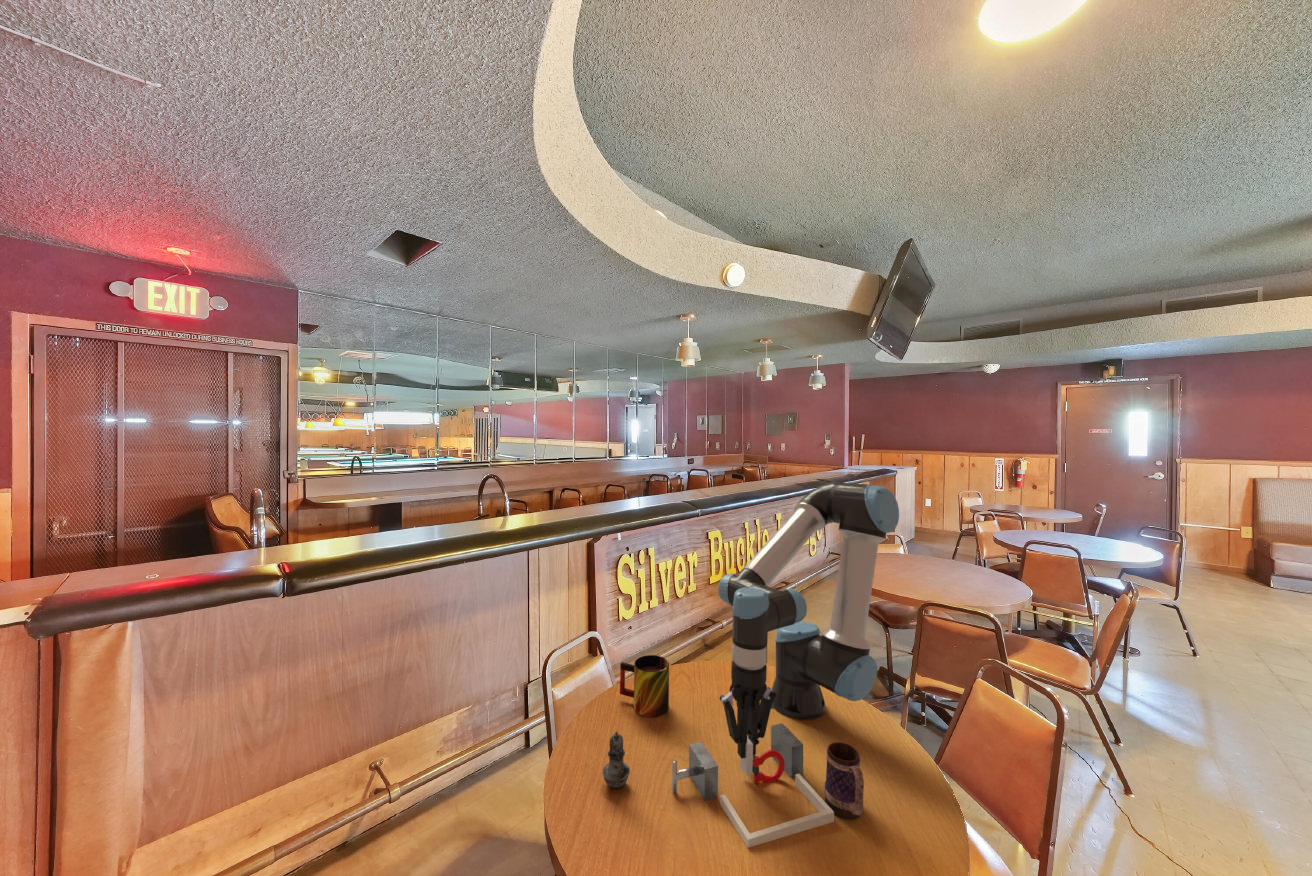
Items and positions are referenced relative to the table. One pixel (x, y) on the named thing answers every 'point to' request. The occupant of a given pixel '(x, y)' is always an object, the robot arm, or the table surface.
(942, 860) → the table surface
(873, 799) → the table surface
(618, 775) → the chess piece
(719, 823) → the table surface
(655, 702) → the mug
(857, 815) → the mug
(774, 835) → the corral
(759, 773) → the tow hook
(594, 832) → the table surface
